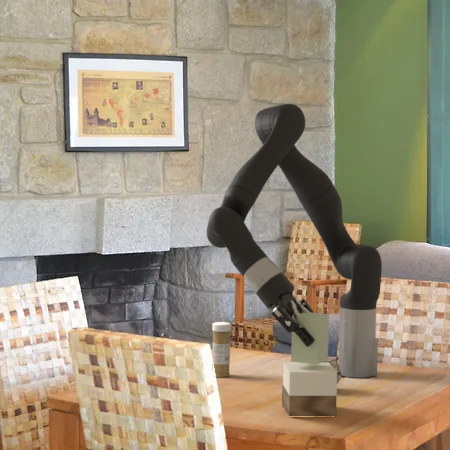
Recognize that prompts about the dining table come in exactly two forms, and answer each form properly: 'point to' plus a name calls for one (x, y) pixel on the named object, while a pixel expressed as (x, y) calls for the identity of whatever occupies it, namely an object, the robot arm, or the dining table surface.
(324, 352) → the sage block
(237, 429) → the dining table surface
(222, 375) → the sprinkles bottle
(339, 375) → the game die
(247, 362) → the dining table surface
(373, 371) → the robot arm
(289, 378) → the tower top
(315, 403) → the tower bottom
